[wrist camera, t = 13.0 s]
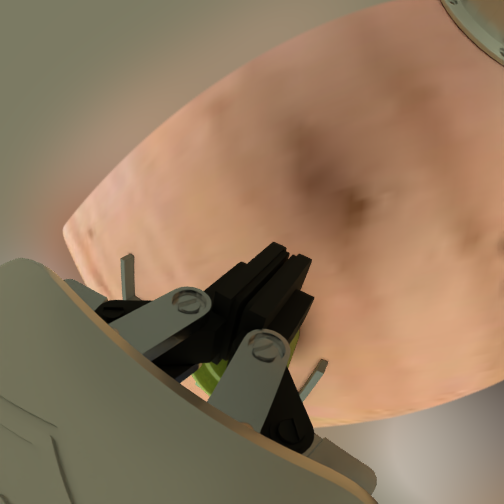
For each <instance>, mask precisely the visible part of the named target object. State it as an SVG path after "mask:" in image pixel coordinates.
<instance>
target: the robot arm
mask: <svg viewBox="0 0 504 504" xmlns="http://www.w3.org/2000/svg"><path fill="white" fill-rule="evenodd" d="M441 2H442V4H443V5H444V7H445V9H446V10H447V12H448V14H449V15H450V16H451V17H452V19H453V20H454V21H455V23H456V24H457V25H458V26H459V27H460V28H461V30H462V31H463V32H464V33H465V34H466V35H467V36H468V37H469V38H470V39H471V40H472V41H473V42H474V43H475V44H476V45H477V46H478V47H479V48H481V49H482V50H483V51H484V52H486V53H487V54H488V55H489V56H490V57H492V58H493V59H495V60H496V61H498V62H499V63H501V64H502V65H504V0H441ZM289 254H290V253H289V252H286V247H284V246H282V245H280V244H278V243H275V242H272V243H271V244H270V245H269V246H268V247H266V248H265V249H264V250H263V251H262V252H261V253H259V254H258V255H257V256H256V257H255V258H253V259H252V260H251V261H250V262H249V263H248V264H246V263H244V262H240V263H238V264H237V265H236V266H234V267H233V268H232V269H231V270H229V271H228V272H227V273H226V274H224V275H223V276H222V277H221V278H219V279H218V280H217V281H216V282H214V283H213V284H212V285H211V286H210V287H208V288H207V289H206V290H205V291H202V290H200V289H198V288H194V287H180V288H177V289H175V290H173V291H171V292H169V293H167V294H165V295H163V296H161V297H159V298H157V299H155V300H154V301H141V300H110V301H108V299H107V297H105V296H103V295H101V294H99V293H97V292H95V291H94V290H92V289H90V288H88V287H86V286H85V285H83V284H81V283H79V282H77V281H75V280H73V279H66V280H62V279H61V278H60V277H59V276H58V275H57V274H56V273H55V272H53V271H52V270H51V269H49V268H47V267H46V266H44V265H43V264H41V263H38V262H36V261H33V260H30V259H25V258H18V259H15V260H12V261H9V262H7V263H5V264H3V265H1V266H0V504H378V503H377V501H376V500H375V499H374V498H373V497H372V496H371V495H372V493H373V492H374V490H375V487H376V485H377V477H376V475H375V473H374V471H373V470H372V469H371V468H370V467H368V466H367V465H365V464H364V463H362V462H361V461H359V460H358V459H356V458H354V457H353V456H351V455H350V454H348V453H347V452H346V451H344V450H343V449H341V448H340V447H338V446H337V445H335V444H334V443H333V442H331V441H329V440H328V439H327V438H324V439H322V438H321V437H319V436H318V435H316V434H315V433H314V430H313V426H312V424H311V421H310V419H309V417H308V414H307V412H306V410H305V407H304V405H303V403H302V400H301V398H300V396H299V393H298V391H297V389H296V386H295V384H294V382H293V379H292V377H291V375H290V372H289V370H288V368H287V363H288V360H289V357H290V352H291V350H290V346H289V345H290V343H291V342H292V340H293V338H294V337H295V335H296V333H297V332H298V330H299V328H300V327H301V325H302V323H303V321H304V319H305V317H306V315H307V313H308V311H309V309H310V307H311V305H312V302H313V300H314V297H313V296H311V295H309V294H306V293H304V292H302V291H300V290H301V288H302V285H303V283H304V280H305V278H306V275H307V272H308V270H309V267H310V265H311V262H312V259H310V258H308V257H306V256H304V255H301V254H298V255H297V256H295V255H292V256H291V257H290V258H289ZM288 258H289V259H288ZM222 359H223V360H225V361H227V360H228V363H227V367H226V370H225V372H224V374H223V375H222V377H221V379H220V381H219V382H218V384H217V386H216V387H215V389H214V391H213V392H212V394H211V396H210V397H209V399H208V401H207V402H206V401H204V400H203V399H201V398H200V397H198V396H197V395H196V394H194V393H193V392H191V391H190V390H188V389H187V388H185V387H184V386H183V385H181V384H180V383H181V382H182V381H183V380H185V379H186V378H188V377H189V376H190V375H192V374H193V373H194V372H196V371H197V370H198V369H199V368H200V367H201V366H202V364H203V363H210V362H213V363H214V364H216V365H218V364H219V362H220V361H221V360H222Z"/></svg>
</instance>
